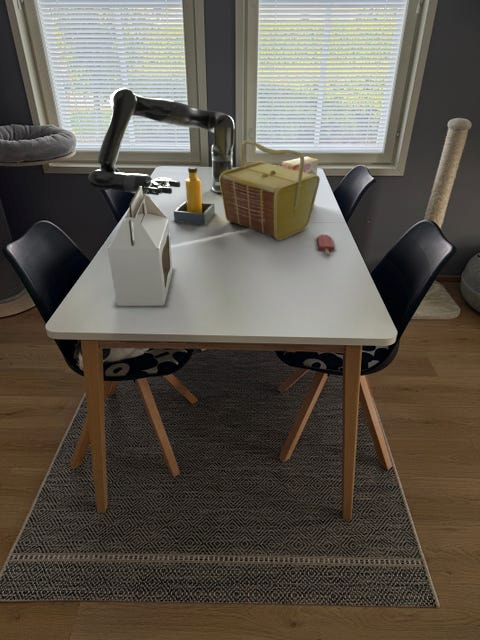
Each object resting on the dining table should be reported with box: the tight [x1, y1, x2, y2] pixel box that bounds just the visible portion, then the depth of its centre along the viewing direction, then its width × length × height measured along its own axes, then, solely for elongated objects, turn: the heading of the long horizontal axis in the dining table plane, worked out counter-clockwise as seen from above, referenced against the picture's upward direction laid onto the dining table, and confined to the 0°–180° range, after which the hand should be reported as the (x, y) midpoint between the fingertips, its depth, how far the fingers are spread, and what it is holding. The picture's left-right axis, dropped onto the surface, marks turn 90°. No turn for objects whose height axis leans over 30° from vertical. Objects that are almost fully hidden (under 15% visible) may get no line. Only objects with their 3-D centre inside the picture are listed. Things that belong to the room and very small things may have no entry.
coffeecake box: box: [281, 156, 319, 175], centre depth 188 cm, size 15×7×20 cm, turn 131°
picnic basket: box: [219, 140, 321, 241], centre depth 167 cm, size 29×26×30 cm
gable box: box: [107, 186, 173, 307], centre depth 127 cm, size 22×13×28 cm, turn 1°
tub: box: [173, 200, 216, 225], centre depth 180 cm, size 13×13×5 cm
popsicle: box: [316, 234, 335, 255], centre depth 160 cm, size 5×2×15 cm
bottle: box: [185, 166, 203, 214], centre depth 175 cm, size 6×6×20 cm
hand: (175, 187), depth 176 cm, fingers open, 8 cm apart
